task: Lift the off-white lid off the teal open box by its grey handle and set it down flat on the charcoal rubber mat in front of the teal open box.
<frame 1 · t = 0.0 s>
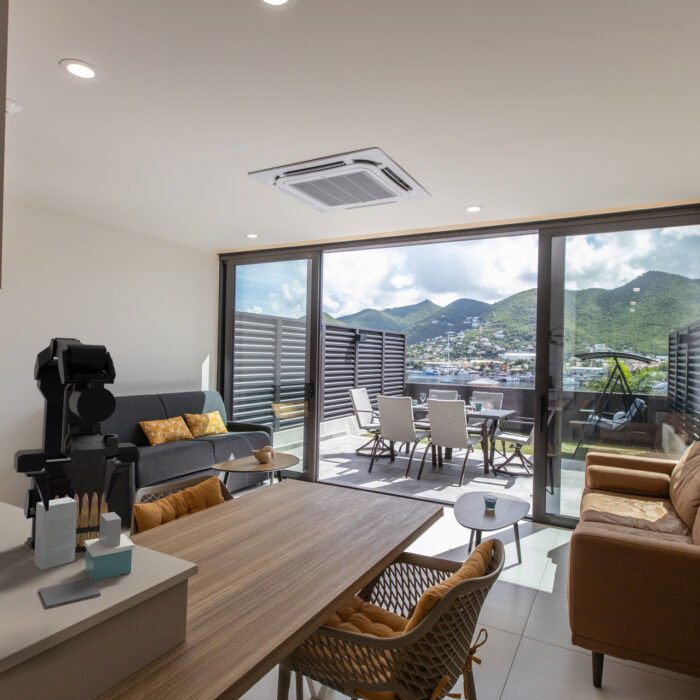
hand: (77, 506, 87), 15 cm above the table, tool pointing down, fingers open, 9 cm apart
lid: (109, 546, 95), point 4 cm above the table, touching teal open box
mat: (69, 593, 86), on the table
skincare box: (54, 564, 98), on the table
ammunition clip: (78, 552, 104), on the table
teal open box: (107, 570, 95), on the table
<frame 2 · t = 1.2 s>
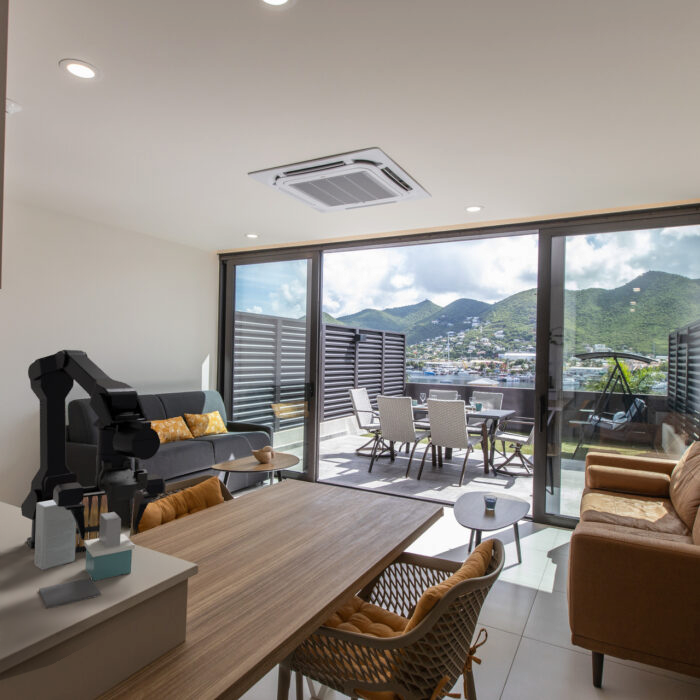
hand: (109, 534, 96), 7 cm above the table, tool pointing down, fingers open, 9 cm apart
nothing on the table moved.
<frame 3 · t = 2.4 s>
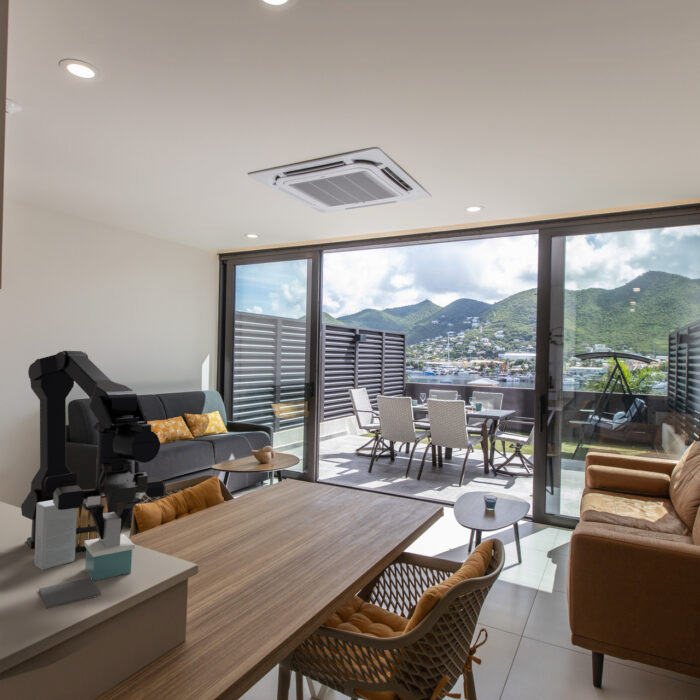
hand: (109, 537, 95), 6 cm above the table, tool pointing down, fingers closed on lid, 2 cm apart
lid: (109, 546, 95), point 4 cm above the table, touching teal open box, gripper
everything else where it was.
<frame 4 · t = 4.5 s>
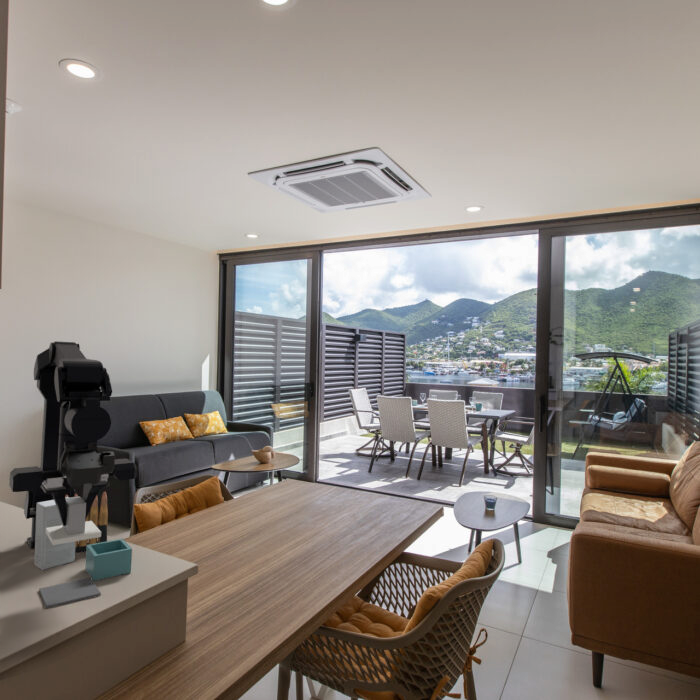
hand: (73, 524, 86), 12 cm above the table, tool pointing down, fingers closed on lid, 2 cm apart
lid: (73, 534, 86), point 10 cm above the table, touching gripper
everything else where it was.
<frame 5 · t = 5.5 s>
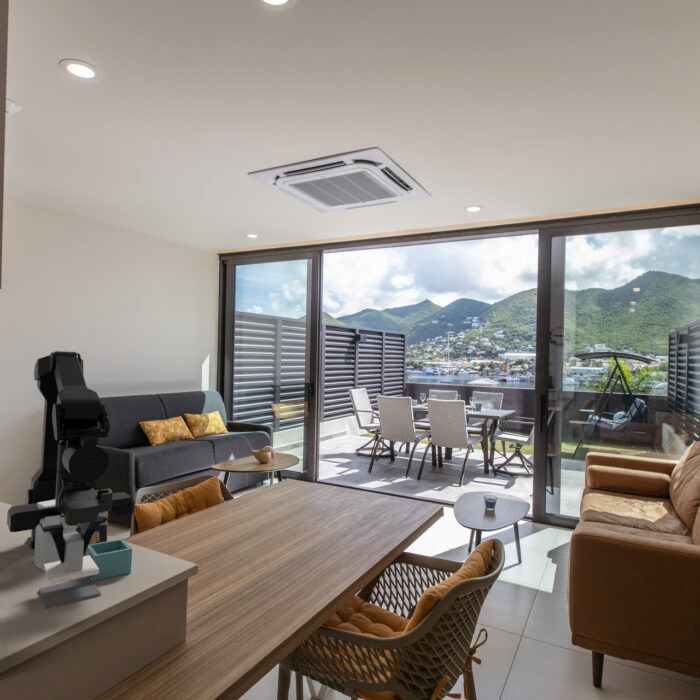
hand: (71, 560, 86), 6 cm above the table, tool pointing down, fingers closed on lid, 2 cm apart
lid: (70, 571, 86), point 4 cm above the table, touching gripper
everything else where it was.
when the fingers open (4 cm above the table, at t = 6.5 s): lid drops 1 cm, resting on mat.
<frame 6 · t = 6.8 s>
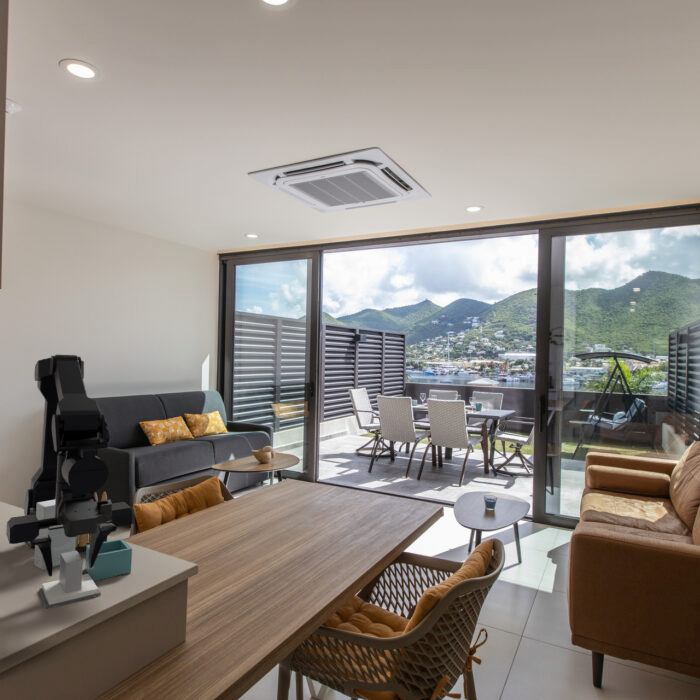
hand: (70, 571, 86), 4 cm above the table, tool pointing down, fingers open, 6 cm apart
lid: (69, 590, 86), resting on mat
everything else where it was.
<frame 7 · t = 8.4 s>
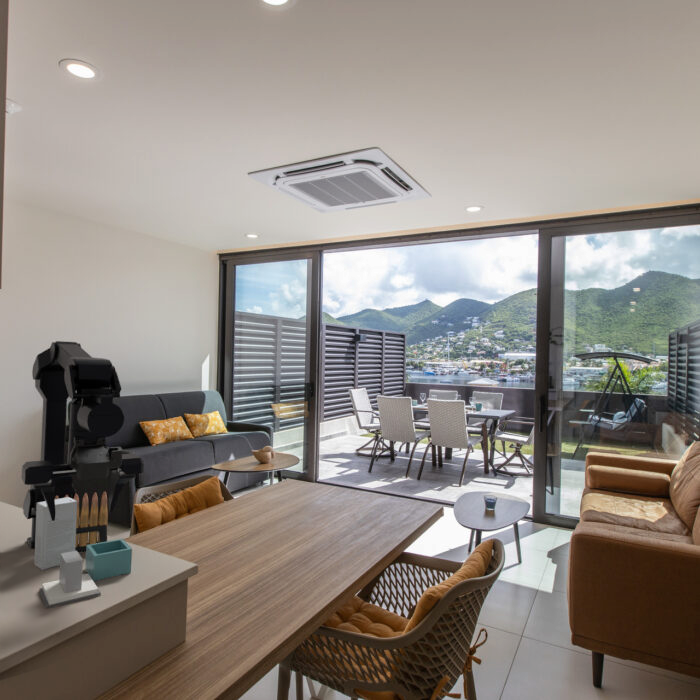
hand: (82, 516, 90), 12 cm above the table, tool pointing down, fingers open, 9 cm apart
nothing on the table moved.
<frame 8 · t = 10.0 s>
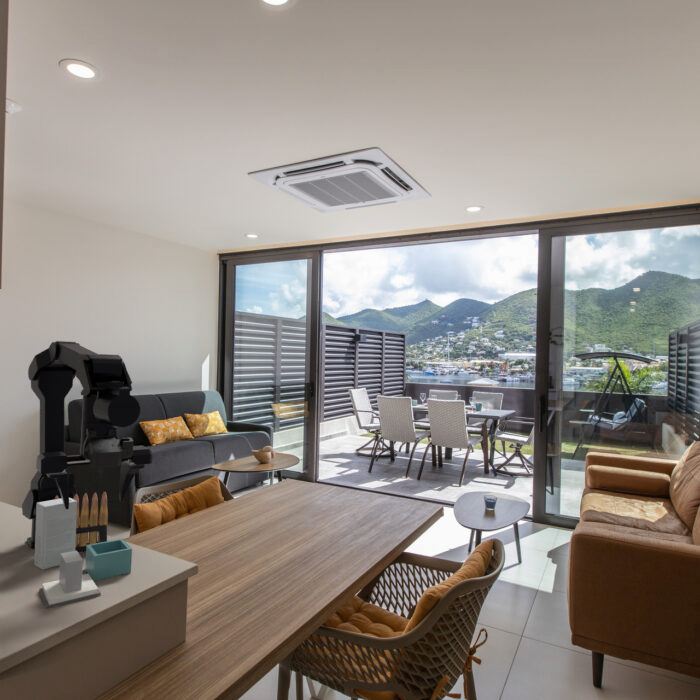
hand: (94, 505, 93), 13 cm above the table, tool pointing down, fingers open, 9 cm apart
nothing on the table moved.
at the end: lid 0.0 cm off-centre on the mat, point 0.4 cm above the mat's base; lid tilted 0°; the gripper is holding nothing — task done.
